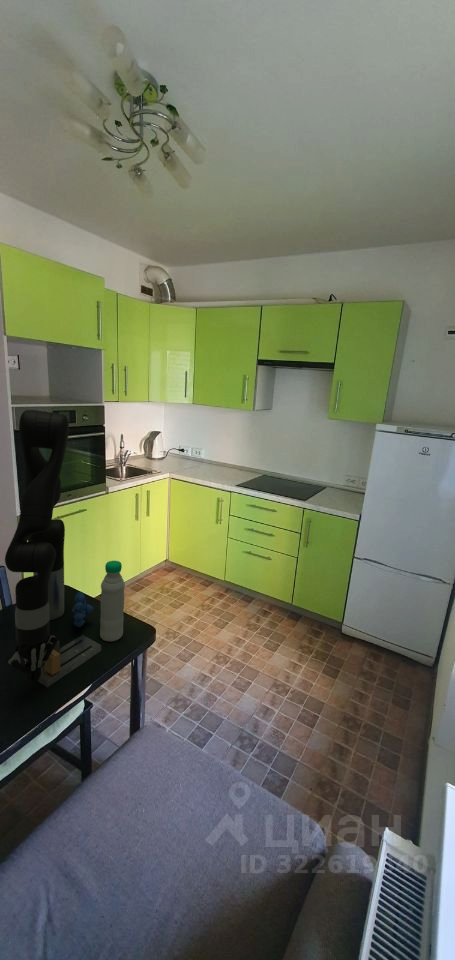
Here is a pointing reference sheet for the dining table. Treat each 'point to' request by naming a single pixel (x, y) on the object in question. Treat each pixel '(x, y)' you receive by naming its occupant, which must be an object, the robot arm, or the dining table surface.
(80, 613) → the grapes
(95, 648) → the console
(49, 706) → the dining table surface
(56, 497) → the robot arm
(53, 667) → the fader
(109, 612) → the water bottle
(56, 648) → the fader
